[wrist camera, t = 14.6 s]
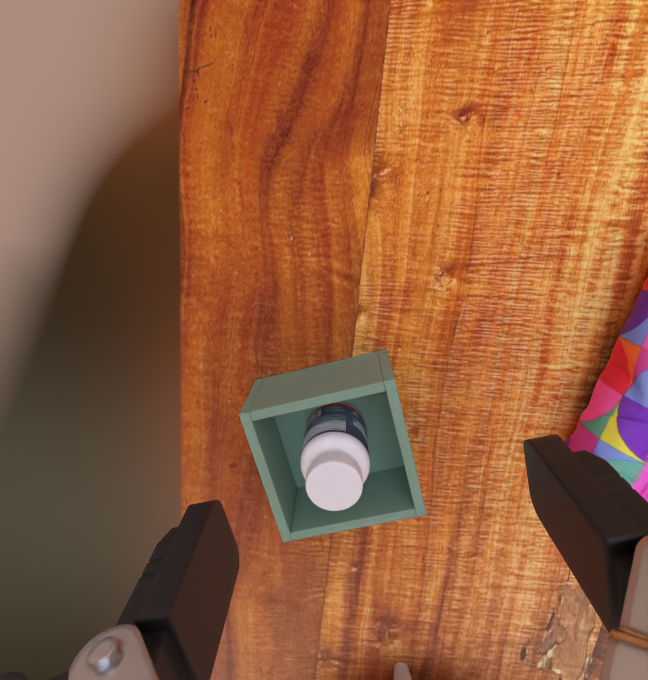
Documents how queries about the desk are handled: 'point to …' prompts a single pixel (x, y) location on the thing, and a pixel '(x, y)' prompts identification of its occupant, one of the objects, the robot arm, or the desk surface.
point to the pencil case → (621, 404)
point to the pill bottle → (335, 456)
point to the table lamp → (401, 671)
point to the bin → (288, 437)
